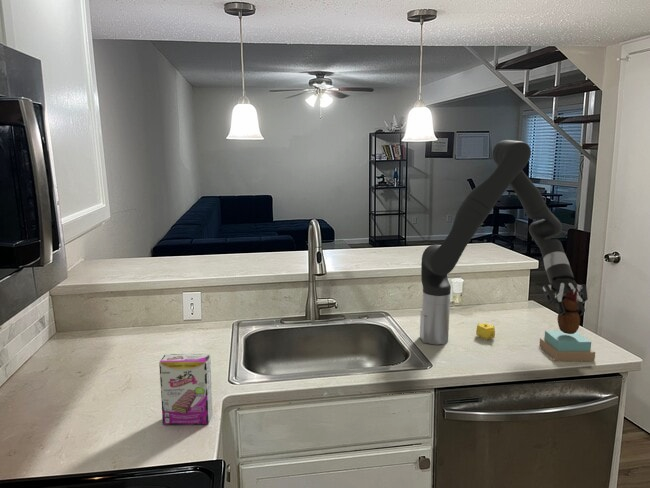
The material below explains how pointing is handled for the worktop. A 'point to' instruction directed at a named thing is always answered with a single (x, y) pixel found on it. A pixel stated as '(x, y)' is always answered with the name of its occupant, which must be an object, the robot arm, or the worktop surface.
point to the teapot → (485, 331)
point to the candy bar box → (186, 389)
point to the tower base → (566, 353)
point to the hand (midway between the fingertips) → (572, 314)
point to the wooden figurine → (569, 314)
